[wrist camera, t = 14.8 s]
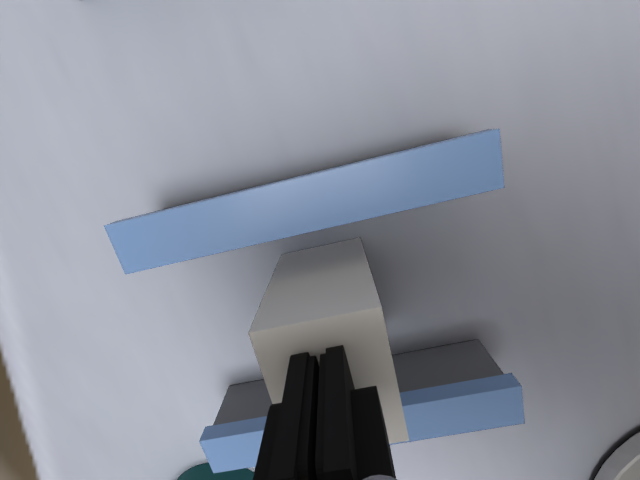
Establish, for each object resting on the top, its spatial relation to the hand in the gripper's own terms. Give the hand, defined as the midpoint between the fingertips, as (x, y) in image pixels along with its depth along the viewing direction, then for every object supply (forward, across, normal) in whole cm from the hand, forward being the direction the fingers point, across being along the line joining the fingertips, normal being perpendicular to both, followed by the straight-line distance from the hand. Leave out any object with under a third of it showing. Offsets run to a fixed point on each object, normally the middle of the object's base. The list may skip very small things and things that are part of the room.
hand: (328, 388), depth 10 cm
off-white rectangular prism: (+7, 0, 0) cm, 7 cm away
